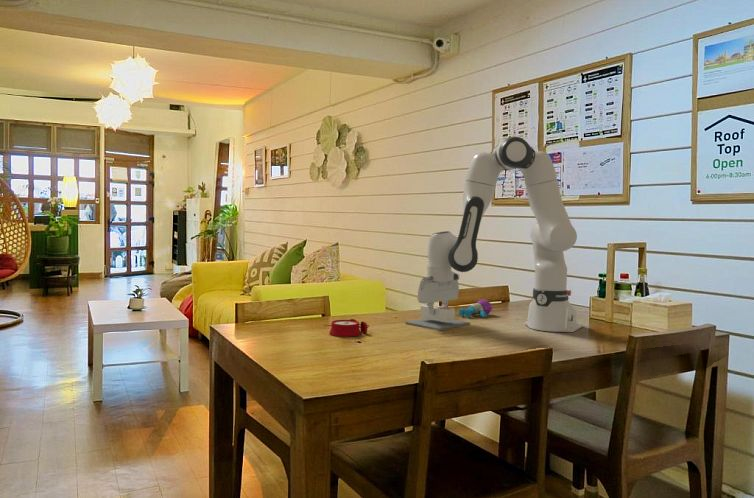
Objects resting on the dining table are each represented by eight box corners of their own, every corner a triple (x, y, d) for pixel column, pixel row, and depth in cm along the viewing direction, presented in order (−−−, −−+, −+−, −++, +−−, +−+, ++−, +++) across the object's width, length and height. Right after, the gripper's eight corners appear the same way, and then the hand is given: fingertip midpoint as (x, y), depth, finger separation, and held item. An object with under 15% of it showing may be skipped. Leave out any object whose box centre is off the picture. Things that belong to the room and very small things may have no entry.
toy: (475, 325, 228) (502, 314, 237) (473, 308, 227) (500, 298, 236) (454, 320, 238) (480, 310, 246) (452, 304, 237) (478, 295, 245)
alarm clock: (320, 323, 197) (354, 308, 206) (323, 340, 198) (357, 325, 207) (339, 328, 189) (374, 313, 198) (342, 346, 190) (377, 330, 200)
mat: (435, 317, 230) (435, 316, 230) (469, 324, 219) (470, 322, 219) (405, 323, 217) (405, 322, 217) (440, 330, 206) (440, 328, 206)
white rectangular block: (454, 319, 215) (455, 308, 215) (446, 321, 212) (446, 309, 211) (428, 314, 224) (429, 303, 223) (420, 316, 220) (420, 305, 220)
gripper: (427, 278, 207) (426, 317, 208) (462, 274, 222) (460, 311, 223) (413, 276, 211) (412, 315, 212) (448, 273, 226) (447, 309, 227)
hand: (437, 313), depth 217 cm, fingers closed on white rectangular block, 5 cm apart
